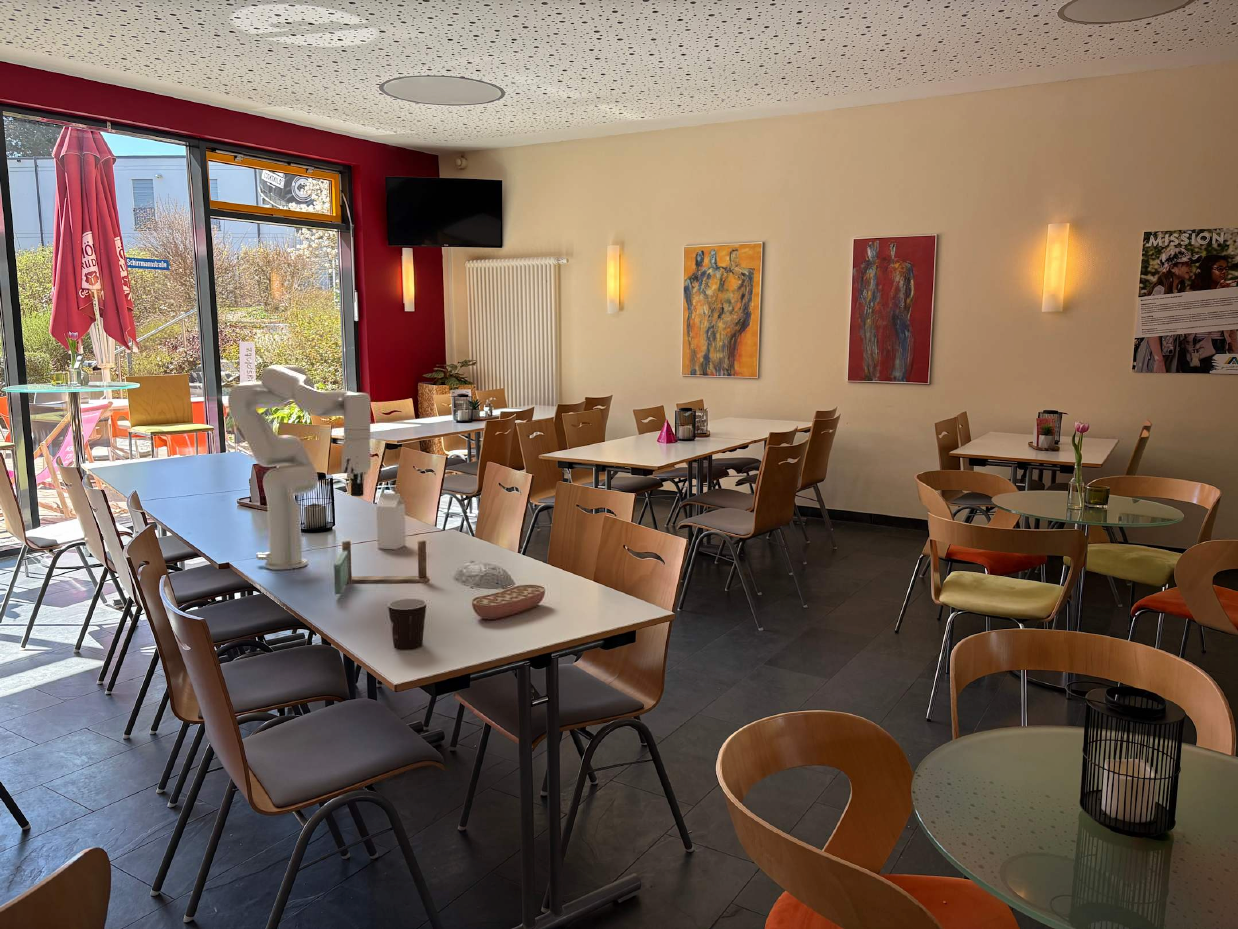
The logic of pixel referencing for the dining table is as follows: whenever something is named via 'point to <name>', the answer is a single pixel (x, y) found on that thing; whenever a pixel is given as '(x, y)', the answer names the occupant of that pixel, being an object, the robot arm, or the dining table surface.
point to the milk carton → (390, 521)
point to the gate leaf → (341, 571)
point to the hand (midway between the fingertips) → (357, 495)
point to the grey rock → (482, 576)
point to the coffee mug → (407, 623)
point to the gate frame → (384, 579)
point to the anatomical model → (508, 601)
